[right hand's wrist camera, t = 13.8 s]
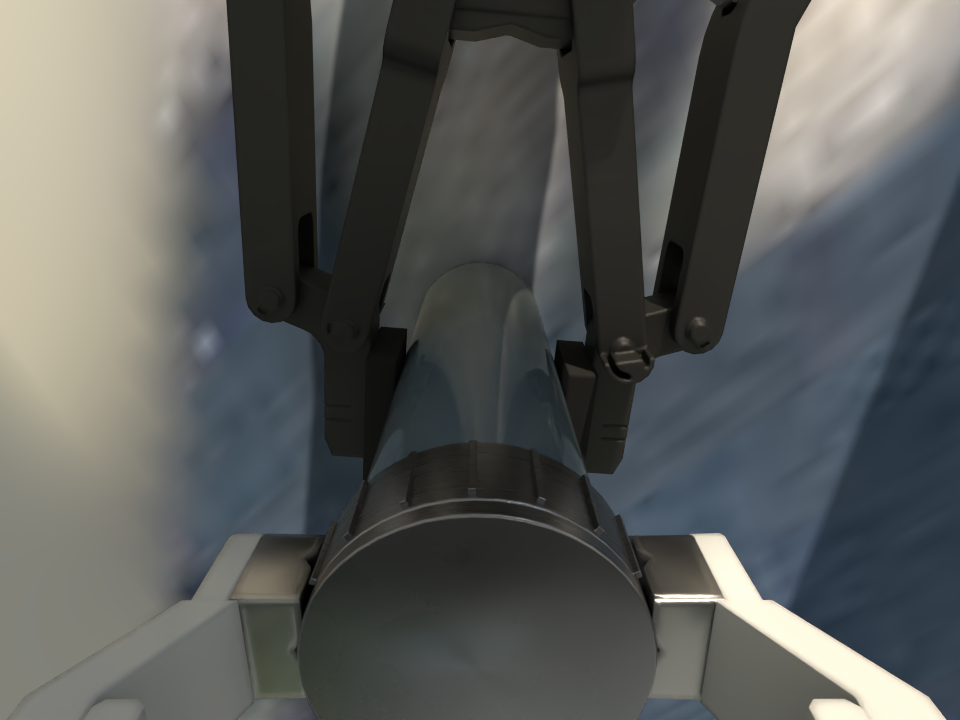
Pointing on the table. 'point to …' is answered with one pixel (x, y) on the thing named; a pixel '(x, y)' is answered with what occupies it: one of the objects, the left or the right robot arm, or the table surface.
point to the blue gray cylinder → (479, 373)
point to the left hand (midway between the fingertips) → (465, 549)
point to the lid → (477, 596)
